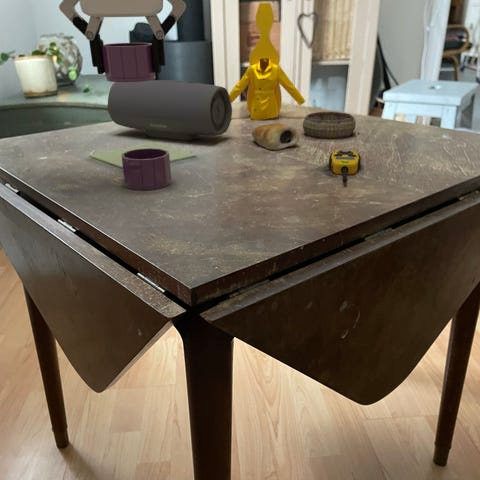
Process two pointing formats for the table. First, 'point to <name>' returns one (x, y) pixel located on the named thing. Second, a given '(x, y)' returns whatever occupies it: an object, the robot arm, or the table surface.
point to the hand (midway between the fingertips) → (130, 71)
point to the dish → (128, 62)
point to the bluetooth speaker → (171, 108)
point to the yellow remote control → (344, 162)
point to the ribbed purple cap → (146, 169)
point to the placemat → (115, 155)
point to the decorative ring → (329, 125)
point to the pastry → (275, 136)
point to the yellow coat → (264, 73)
